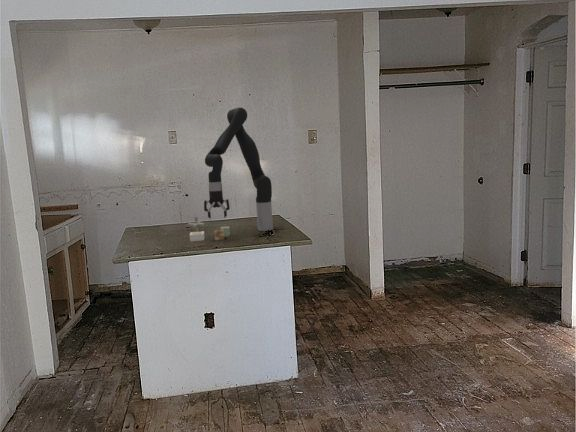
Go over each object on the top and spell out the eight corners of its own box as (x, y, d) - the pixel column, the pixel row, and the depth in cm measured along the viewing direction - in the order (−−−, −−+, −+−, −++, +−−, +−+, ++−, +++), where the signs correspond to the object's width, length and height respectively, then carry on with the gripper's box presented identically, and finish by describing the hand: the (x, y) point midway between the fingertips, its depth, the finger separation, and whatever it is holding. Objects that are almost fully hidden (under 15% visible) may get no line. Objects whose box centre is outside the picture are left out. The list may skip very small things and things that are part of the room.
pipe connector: (202, 234, 312) (200, 218, 311) (186, 234, 314) (185, 218, 313) (207, 230, 322) (206, 215, 320) (192, 230, 324) (191, 215, 322)
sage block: (229, 234, 307) (229, 226, 306) (229, 236, 302) (229, 228, 302) (221, 235, 307) (220, 226, 306) (221, 236, 302) (220, 228, 301)
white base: (204, 237, 303) (204, 230, 302) (204, 240, 295) (203, 233, 295) (190, 238, 302) (190, 231, 301) (190, 241, 294) (189, 234, 294)
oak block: (224, 237, 299) (223, 229, 298) (224, 239, 294) (223, 231, 294) (215, 238, 299) (215, 230, 298) (215, 240, 294) (214, 231, 293)
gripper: (228, 188, 296) (230, 216, 299) (203, 189, 295) (205, 217, 298) (227, 189, 289) (229, 218, 291) (202, 191, 288) (204, 219, 291)
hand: (217, 217), depth 295 cm, fingers open, 8 cm apart
